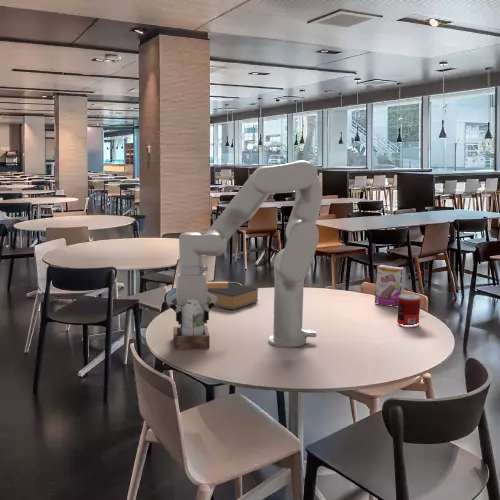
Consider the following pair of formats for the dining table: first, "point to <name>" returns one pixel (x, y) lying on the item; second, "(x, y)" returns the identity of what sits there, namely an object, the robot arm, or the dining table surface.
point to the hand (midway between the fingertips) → (192, 322)
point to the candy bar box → (389, 284)
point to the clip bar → (217, 284)
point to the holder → (190, 340)
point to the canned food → (408, 309)
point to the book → (233, 296)
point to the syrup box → (192, 319)
